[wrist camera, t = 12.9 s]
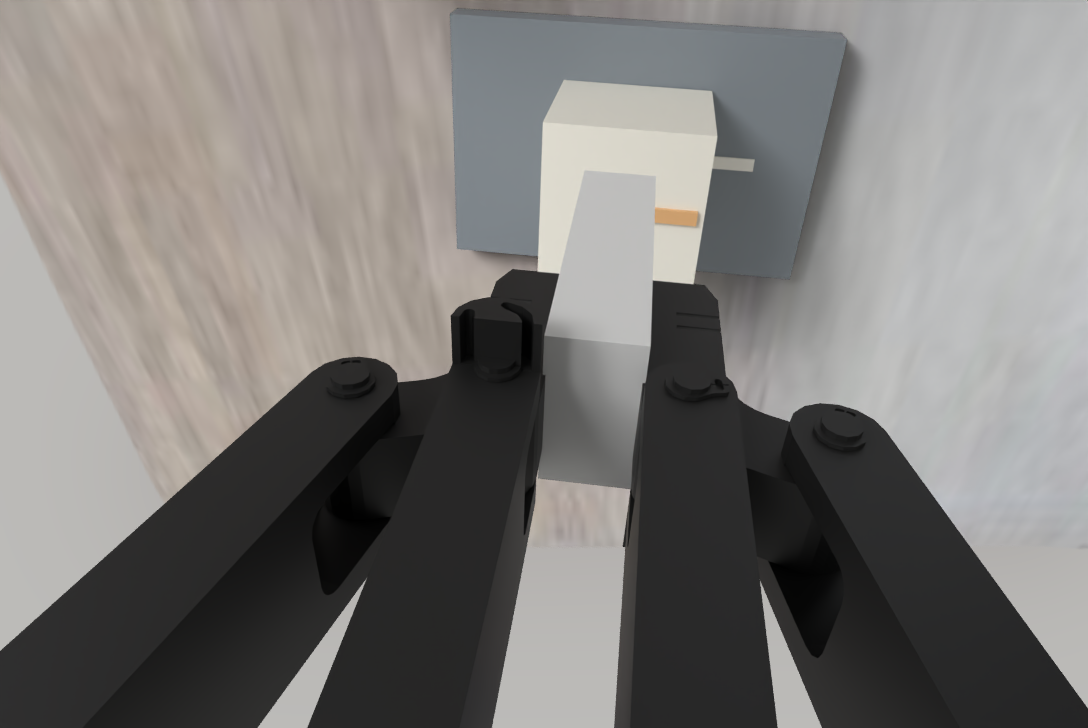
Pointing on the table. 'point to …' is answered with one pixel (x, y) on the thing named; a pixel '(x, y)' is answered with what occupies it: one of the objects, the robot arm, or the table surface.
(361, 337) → the table surface
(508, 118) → the shaft plate
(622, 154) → the cream cube
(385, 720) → the robot arm
